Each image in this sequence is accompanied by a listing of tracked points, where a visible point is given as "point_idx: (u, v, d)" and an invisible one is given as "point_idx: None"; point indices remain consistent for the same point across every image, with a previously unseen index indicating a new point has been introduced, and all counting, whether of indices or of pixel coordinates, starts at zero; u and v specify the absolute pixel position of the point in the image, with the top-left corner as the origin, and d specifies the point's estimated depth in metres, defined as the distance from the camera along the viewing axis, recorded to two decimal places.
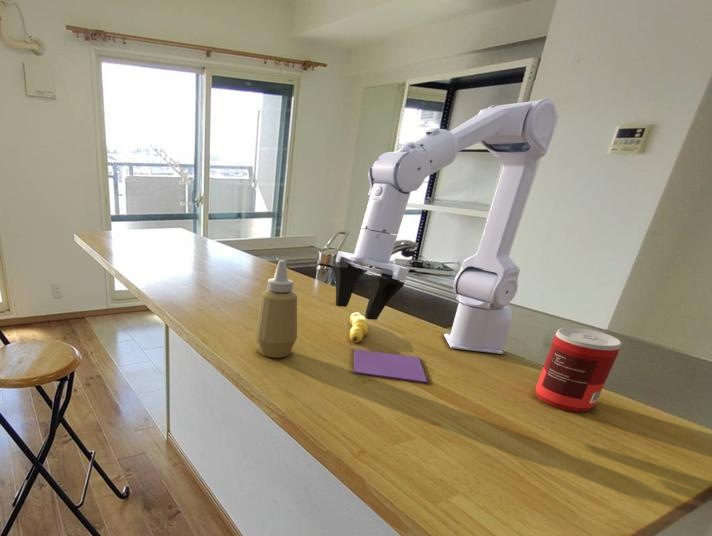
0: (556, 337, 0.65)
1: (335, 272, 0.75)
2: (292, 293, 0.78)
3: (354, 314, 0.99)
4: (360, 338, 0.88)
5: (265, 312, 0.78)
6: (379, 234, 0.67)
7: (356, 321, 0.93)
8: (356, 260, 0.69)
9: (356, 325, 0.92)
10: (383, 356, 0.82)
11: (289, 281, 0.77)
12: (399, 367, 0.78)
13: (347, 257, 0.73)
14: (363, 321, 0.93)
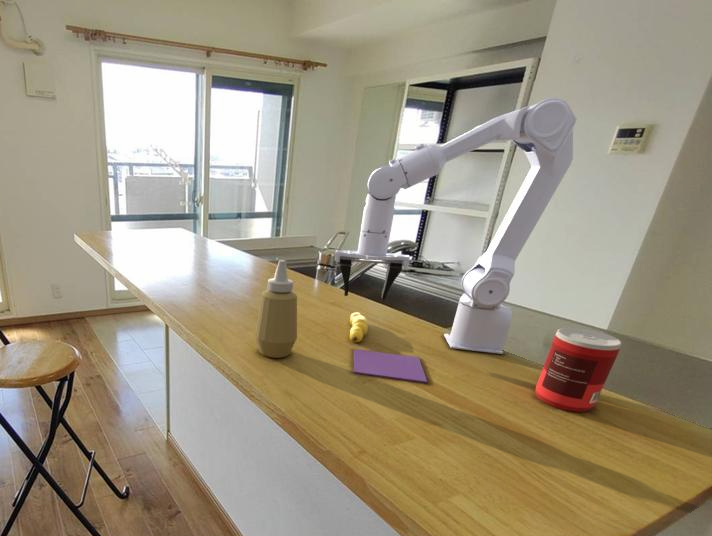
0: (556, 337, 0.65)
1: (344, 270, 0.89)
2: (292, 293, 0.78)
3: (354, 314, 0.99)
4: (360, 338, 0.88)
5: (265, 312, 0.78)
6: (386, 235, 0.84)
7: (356, 321, 0.93)
8: (376, 259, 0.85)
9: (356, 325, 0.92)
10: (383, 356, 0.82)
11: (289, 281, 0.77)
12: (399, 367, 0.78)
13: (354, 256, 0.88)
14: (363, 321, 0.93)
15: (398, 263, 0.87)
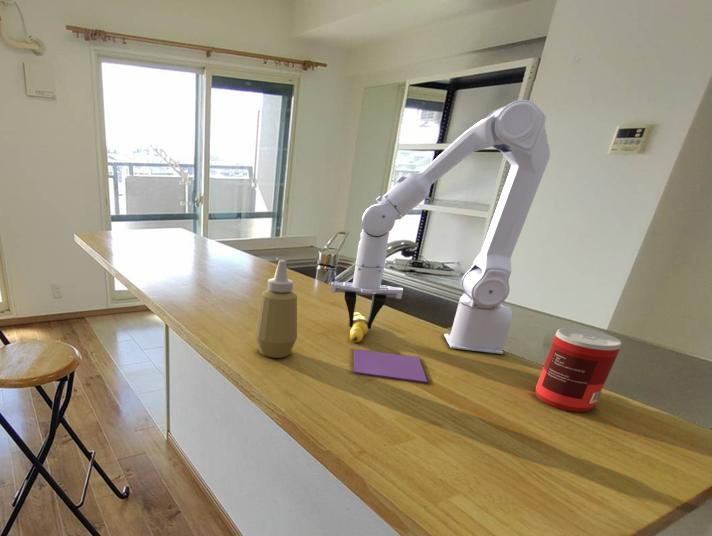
0: (556, 337, 0.65)
1: (349, 303, 0.91)
2: (292, 293, 0.78)
3: (354, 314, 0.99)
4: (360, 338, 0.88)
5: (265, 312, 0.78)
6: (380, 269, 0.87)
7: (356, 321, 0.93)
8: (370, 292, 0.88)
9: (356, 325, 0.92)
10: (383, 356, 0.82)
11: (289, 281, 0.77)
12: (399, 367, 0.78)
13: (349, 289, 0.90)
14: (363, 321, 0.93)
15: (382, 295, 0.90)
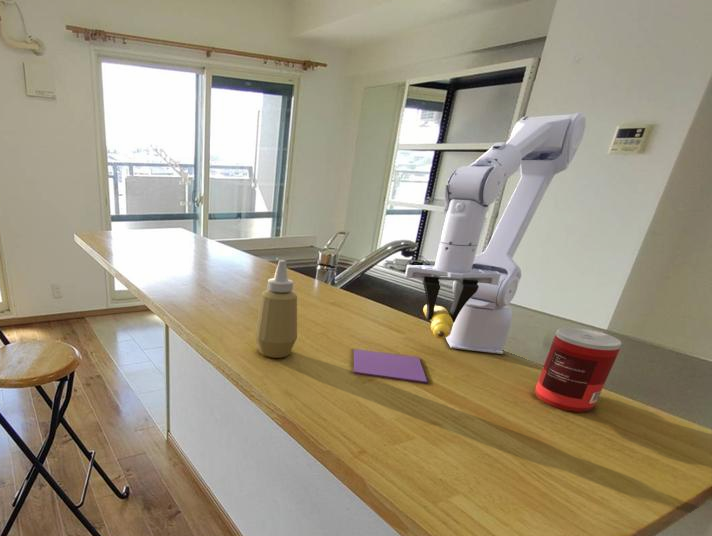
0: (556, 337, 0.65)
1: (430, 290, 0.74)
2: (292, 293, 0.78)
3: None
4: (447, 333, 0.71)
5: (265, 312, 0.78)
6: (474, 248, 0.70)
7: (437, 313, 0.76)
8: (461, 277, 0.71)
9: (439, 318, 0.75)
10: (383, 356, 0.82)
11: (289, 281, 0.77)
12: (399, 367, 0.78)
13: (432, 273, 0.74)
14: (446, 313, 0.76)
15: (473, 280, 0.73)
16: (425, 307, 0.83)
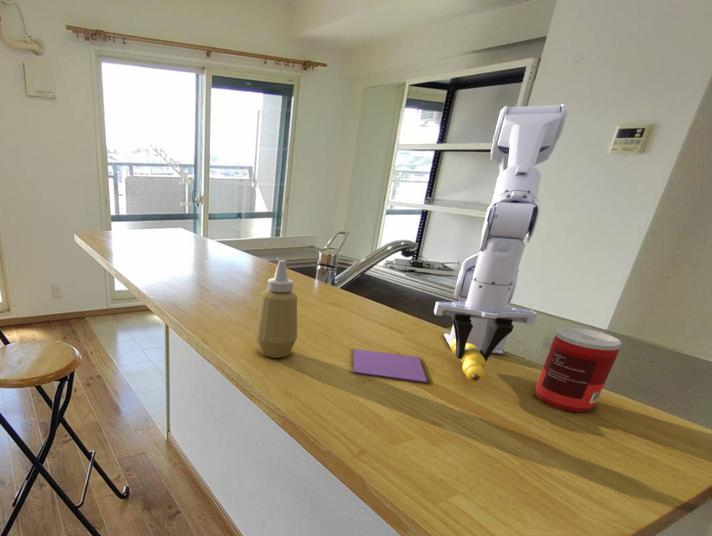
0: (556, 337, 0.65)
1: (462, 329, 0.71)
2: (292, 293, 0.78)
3: None
4: (482, 376, 0.68)
5: (265, 312, 0.78)
6: (510, 287, 0.67)
7: (469, 352, 0.73)
8: (496, 317, 0.67)
9: (471, 358, 0.71)
10: (383, 356, 0.82)
11: (289, 281, 0.77)
12: (399, 367, 0.78)
13: (464, 311, 0.70)
14: (478, 352, 0.72)
15: (507, 319, 0.70)
16: (452, 343, 0.80)
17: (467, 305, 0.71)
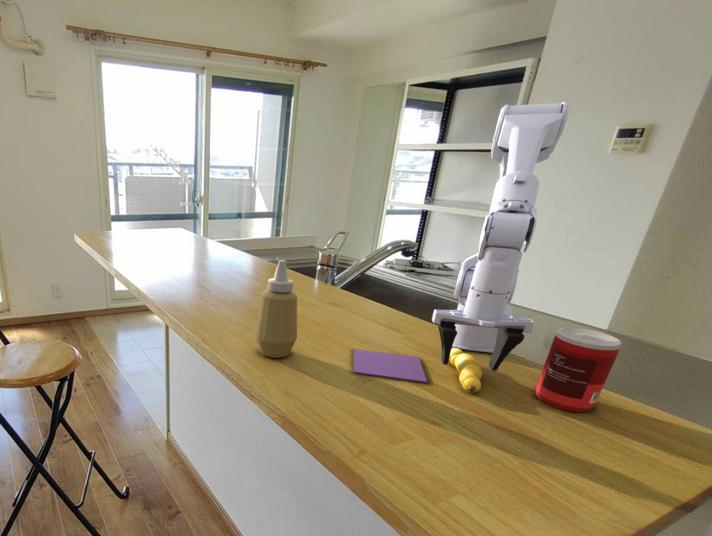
0: (556, 337, 0.65)
1: (447, 336, 0.72)
2: (292, 293, 0.78)
3: (455, 351, 0.80)
4: (478, 388, 0.69)
5: (265, 312, 0.78)
6: (507, 296, 0.67)
7: (465, 363, 0.73)
8: (494, 325, 0.68)
9: (468, 369, 0.72)
10: (383, 356, 0.82)
11: (289, 281, 0.77)
12: (399, 367, 0.78)
13: (462, 320, 0.71)
14: (475, 363, 0.73)
15: (517, 329, 0.70)
16: (450, 353, 0.80)
17: (465, 313, 0.71)
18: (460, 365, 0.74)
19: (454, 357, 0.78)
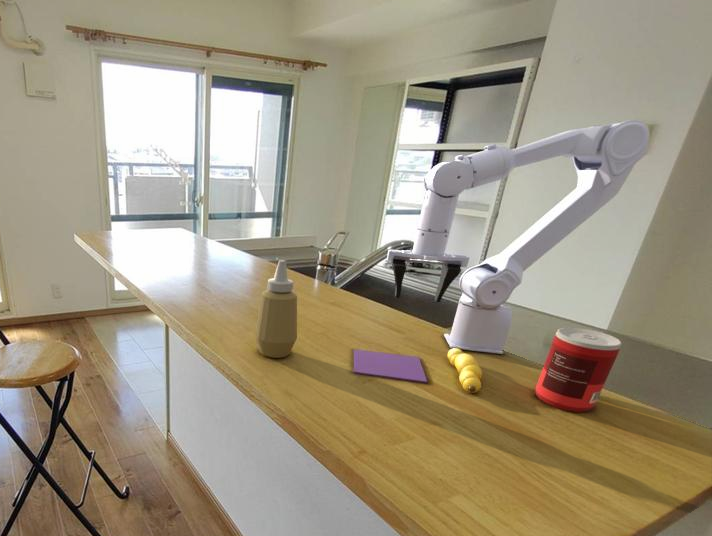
0: (556, 337, 0.65)
1: (398, 271, 0.85)
2: (292, 293, 0.78)
3: (455, 351, 0.80)
4: (478, 388, 0.69)
5: (265, 312, 0.78)
6: (446, 234, 0.80)
7: (465, 363, 0.73)
8: (435, 259, 0.81)
9: (468, 369, 0.72)
10: (383, 356, 0.82)
11: (289, 281, 0.77)
12: (399, 367, 0.78)
13: (410, 256, 0.83)
14: (475, 363, 0.73)
15: (456, 264, 0.83)
16: (450, 353, 0.80)
17: (413, 251, 0.84)
18: (460, 365, 0.74)
19: (454, 357, 0.78)
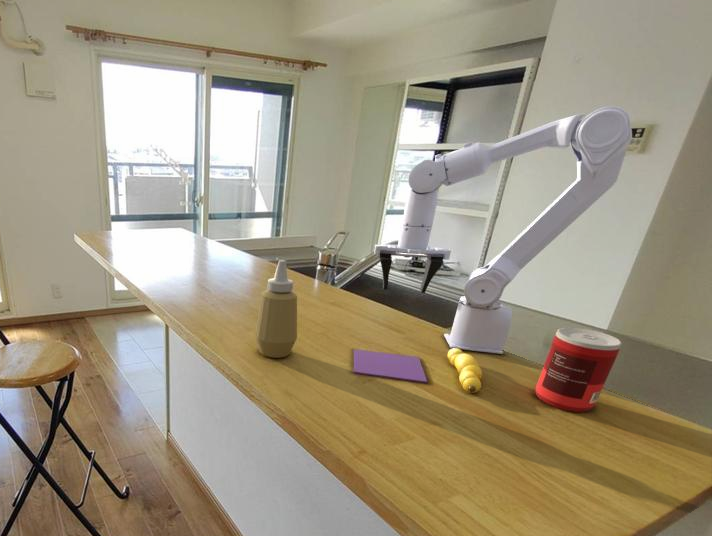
0: (556, 337, 0.65)
1: (384, 264, 0.90)
2: (292, 293, 0.78)
3: (455, 351, 0.80)
4: (478, 388, 0.69)
5: (265, 312, 0.78)
6: (428, 228, 0.85)
7: (465, 363, 0.73)
8: (418, 252, 0.86)
9: (468, 369, 0.72)
10: (383, 356, 0.82)
11: (289, 281, 0.77)
12: (399, 367, 0.78)
13: (395, 250, 0.89)
14: (475, 363, 0.73)
15: (439, 257, 0.88)
16: (450, 353, 0.80)
17: (398, 245, 0.89)
18: (460, 365, 0.74)
19: (454, 357, 0.78)
